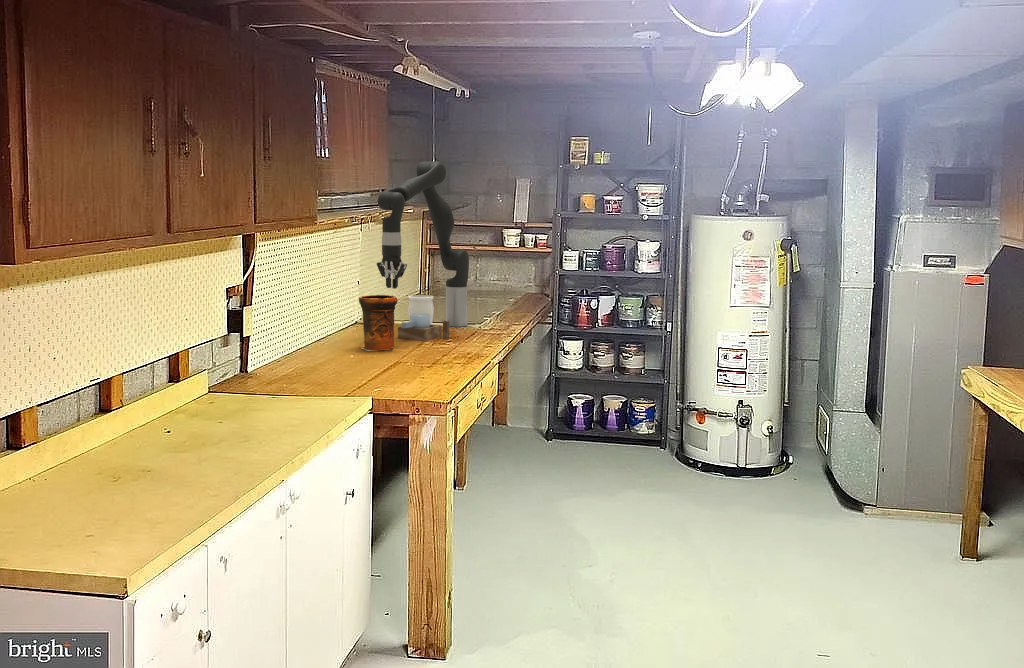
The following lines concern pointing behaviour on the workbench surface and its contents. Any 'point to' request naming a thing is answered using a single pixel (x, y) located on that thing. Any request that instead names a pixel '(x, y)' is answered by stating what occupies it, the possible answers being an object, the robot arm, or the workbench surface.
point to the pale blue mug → (417, 321)
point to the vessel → (378, 321)
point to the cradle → (424, 332)
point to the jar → (421, 305)
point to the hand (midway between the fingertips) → (391, 287)
